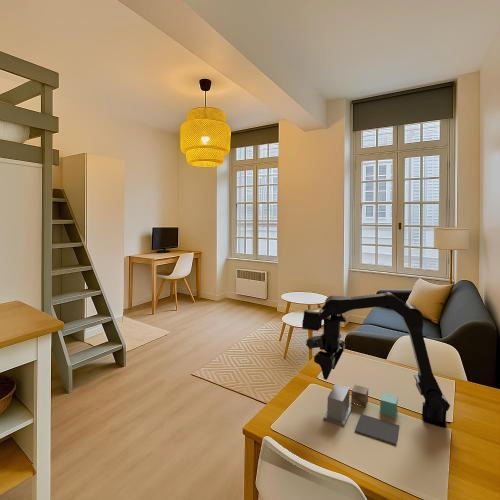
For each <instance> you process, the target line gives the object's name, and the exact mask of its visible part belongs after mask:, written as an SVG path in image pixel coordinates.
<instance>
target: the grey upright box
mask: <svg viewBox="0 0 500 500" xmlns="http://www.w3.org/2000/svg"><path fill="white" fill-rule="evenodd" d="M350 390H351V388H350V387H349V386H345V385H341V384H337V383H335V384H334V386H333V388H332V389H331V391H330V392H329V395H328V396H327V404H326V405H327V408H326V412H325V413H324V416H323V419H322V420H323V421H327V422H330V423H333V424H336V425H338V426H340V427H346V423H347V422H348V419H349V416H350V415H349V414H351V412H352V410H351V409H353V404H350V393H351V391H350Z"/></svg>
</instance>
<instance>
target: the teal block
mask: <svg viewBox="0 0 500 500" xmlns="http://www.w3.org/2000/svg"><path fill="white" fill-rule="evenodd" d="M398 397H399V396H395V395H391V394H387V393H384V392H383V393H382V395H381V397H380V405H379V414H380V415H384V416H388V417H391V418H396V419H397V414H398V413H397V412H398V401H399V399H398Z"/></svg>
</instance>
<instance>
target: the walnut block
mask: <svg viewBox="0 0 500 500" xmlns="http://www.w3.org/2000/svg"><path fill="white" fill-rule="evenodd" d="M350 399H351V400H350V404H351V403H355V404H358V405H361V406H360V407H362V406H364V407H363V408H366V407H367V405H366V404H368V401H369V388H368V387H366V386H362V385H359V384H358V385H357V384H354V385H353V387H352V390H351V397H350ZM355 404H354V405H355ZM358 405H357V406H358Z"/></svg>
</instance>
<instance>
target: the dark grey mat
mask: <svg viewBox="0 0 500 500" xmlns="http://www.w3.org/2000/svg"><path fill="white" fill-rule="evenodd" d="M399 429H400V424H396V423H393V422H390V421H386V420H383V419H379V418H376V417H373V416H370V415H366V414H364V413H360V416H359V418H358V421H357V424H356V426H355V429H354V433H357V434H360V435H363V436H366V437H369V438H372V439H374V440H375V439H376V440H378V441H381V442H384V443H387V444H390V445H393V446H397V442H398V436H399Z"/></svg>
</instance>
